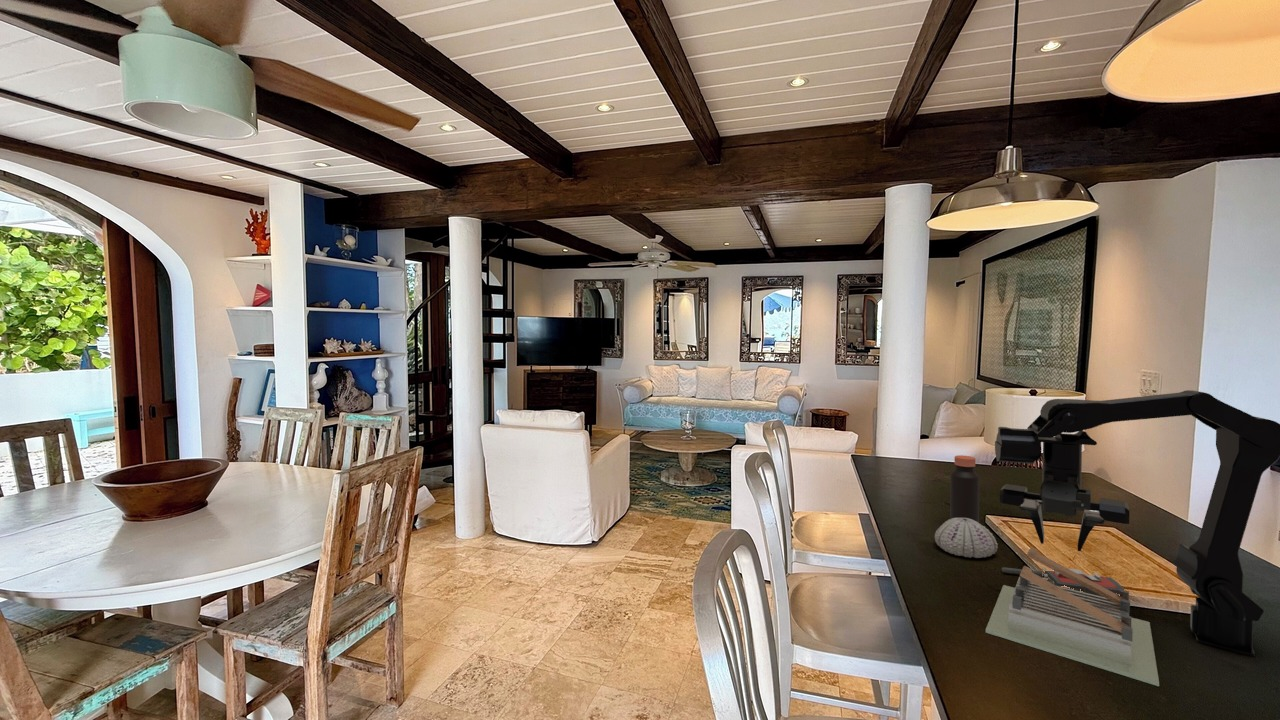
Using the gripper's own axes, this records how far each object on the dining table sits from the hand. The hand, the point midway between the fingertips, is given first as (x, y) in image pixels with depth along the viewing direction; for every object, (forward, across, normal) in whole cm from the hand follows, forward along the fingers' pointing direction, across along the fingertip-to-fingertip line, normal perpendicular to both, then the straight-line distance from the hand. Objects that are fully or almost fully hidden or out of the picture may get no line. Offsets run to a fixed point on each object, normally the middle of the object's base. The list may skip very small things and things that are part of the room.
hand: (1060, 546), depth 98 cm
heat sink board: (+13, +2, -6) cm, 14 cm away
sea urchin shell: (+13, -20, +22) cm, 33 cm away
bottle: (+13, -22, +39) cm, 47 cm away
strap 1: (+6, +2, 0) cm, 6 cm away
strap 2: (+6, +2, -11) cm, 13 cm away
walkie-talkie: (+14, 0, +14) cm, 20 cm away
